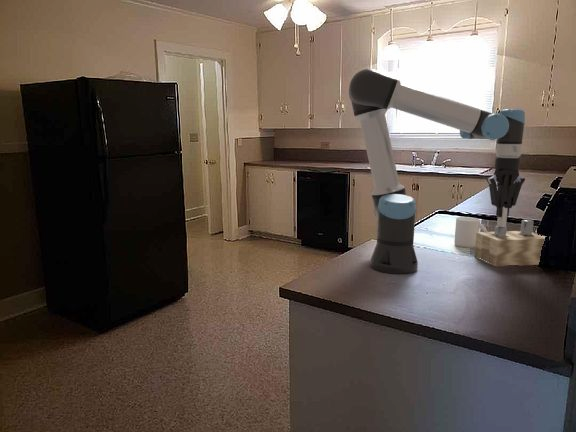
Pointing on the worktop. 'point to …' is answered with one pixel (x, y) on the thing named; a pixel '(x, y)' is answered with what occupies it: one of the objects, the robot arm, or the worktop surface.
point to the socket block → (509, 248)
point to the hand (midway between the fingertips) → (501, 226)
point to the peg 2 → (526, 228)
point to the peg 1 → (500, 231)
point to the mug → (467, 231)
